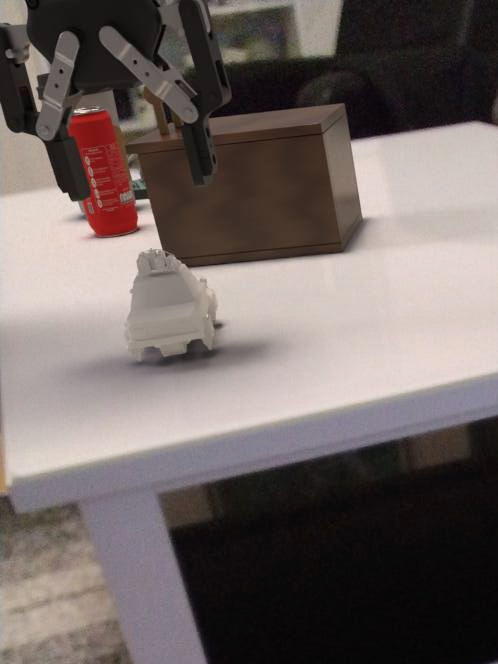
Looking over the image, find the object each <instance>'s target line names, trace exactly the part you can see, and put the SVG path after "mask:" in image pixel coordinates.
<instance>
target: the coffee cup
mask: <svg viewBox="0 0 498 664" xmlns="http://www.w3.org/2000/svg"><path fill="white" fill-rule="evenodd" d="M49 73H50V72H46V73H42V74H37V75H36V81H37V86H36V87H35V90H36V92H37V97H38V98H37V99H38V101H40V103H41V105H42V104H43V101H44V99H43V92H44V89H45V86H46V83H47V79H48V76H49ZM113 90H115V89H114V88H109V89H107V90H104V91H101V92H98V93H91V94H85V92H83V94H82V97H81V99H80V101H79V103H78V104H77V106H76V108H75V110H76V109H83V108H90V107H106V111H107V112H108V114H109V115H110V116H111V120H112V123H113V127H114V131H115V134H116V138H117V142H118V145H119V149H120V153H121V156H122V160H123V164H124V167H125V171H126V175H127V178H128V182H129V186H130V189H131V193H132V197H133V200H134V204H135V205H136V204H137V201H136V199H135V196H134V191H133V186H132V182H131V177H132V174H131V168H130V163H129V164H128V159H127V153H126V149H125V145H126V144H125V141H124V134H123V131H122V128H121V124H120V119H119V116H118V110H117V106H116V105H117V104H116V101H115V96H114V92H113ZM77 203H78V206H79V209H80V211H81V212H80V213H82V214H84V216H85V218H86V219H87V215H86V212H85V209H84V205H83V202H82V201H77Z"/></svg>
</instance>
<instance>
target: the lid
mask: <svg viewBox="0 0 498 664" xmlns="http://www.w3.org/2000/svg"><path fill="white" fill-rule="evenodd" d="M142 95H143V98H144V100H145V101H146V102H147V103H148V104H150V105H151V106H152V108H153V111H154V115H155V119H156V123H157V127H158V128H157V129H155V130H152V131H150V132H148V133H146V134H144V135H141V136H140V137H138V138H136V139H134V140H132V141H130V142H128V143H125V144H124V145H125V150H126V154H127V155H130V156H131V154H139V153H148V152H157V151H166V150H175V149H184V148H185V145H184V141H183V137H182V133H181V129H180V126H181V125H183V124H184V122H183V120H182V119H181V118H180V117H179V116H178V115H177V114H176V113H175V112H174V111H173V110H172V109H171V108H170V107H169V110H170V114H171V118H172V122H169V123H168V121H167V117H166V113H165V109H164V104H163V103H165V102H164V101H163V100H162V99H161V98H159V97H157V96H156V95H154V94H153V93H152V92H151V91H150V90H149V89H148V88H147V87H146V86H145V85H143V89H142ZM344 113H347V110H346V103H334V104H333V103H332V104H325V105H324V104H323V105H316V106H307V107H298V108H297V107H296V108H289V109H281V110H280V109H279V110H272V111H271V110H270V111H262V112H254V113H246V114H245V113H244V114H235V115H227V116H219V117H211V118H210V117H209V126H210V131H211V135H212V139H213V143H214V145H220V144H229V143H238V142H247V141H256V140H265V139H274V138H283V137H292V136H301V135H310V134H319V133H323V132H324V131H325V130H326V129H327V128H328V127H330V126H331V125H332V124H333V123H334V122H335V121H336V120H337V119H339V118H340V117H341V116H342V115H343V114H344Z"/></svg>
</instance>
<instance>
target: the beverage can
mask: <svg viewBox="0 0 498 664" xmlns="http://www.w3.org/2000/svg"><path fill="white" fill-rule="evenodd" d="M68 133H69V137H70V136H75V139H76V142H77V146H78V149H79V152H80V156H81V159H82V162H83V166H84V169H85V172H86V176H87V179H88V182H89V186H90V189H91V196H90V197H89V198H87V199H86V200H84V201H82V202H83V205H84V209H85V212H86V215H87V218H86V219H87V222H88V225H89V227H90V228H91V229H92V230H93V232H94V234H95V235H96V237H100V238H109V237H110V238H111V237H118V236H122V235H123V236H124V235H127V234H130V233H133V232H135V231H138V222H139V215H138V212H137V211H138V210H137V209H136V204H134V200H133V197H132V193H131V189H130V186H129V182H128V178H127V175H126V171H125V167H124V164H123V160H122V156H121V153H120V149H119V145H118V142H117V138H116V134H115V131H114V127H113V123H112V120H111V116H110V115H109V114H108V112H107V111H106V107H90V108H83V109H76V110H75V111H74V114H73V117H72V120H71V123H70V126H69V129H68Z"/></svg>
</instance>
